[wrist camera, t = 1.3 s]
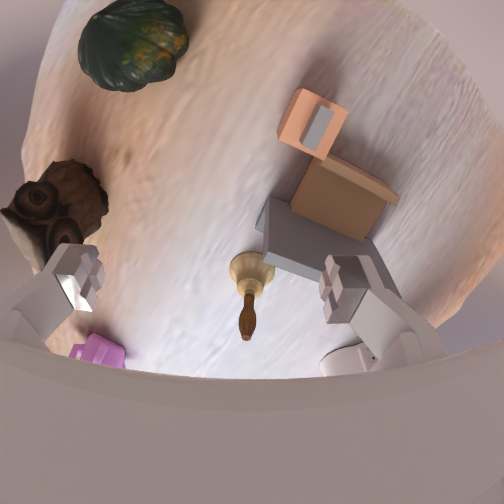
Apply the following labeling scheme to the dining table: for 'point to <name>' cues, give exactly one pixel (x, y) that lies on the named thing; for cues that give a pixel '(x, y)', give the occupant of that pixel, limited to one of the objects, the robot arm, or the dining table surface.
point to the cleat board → (325, 220)
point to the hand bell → (250, 286)
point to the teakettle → (100, 351)
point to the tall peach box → (311, 123)
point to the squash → (132, 44)
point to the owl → (55, 211)
